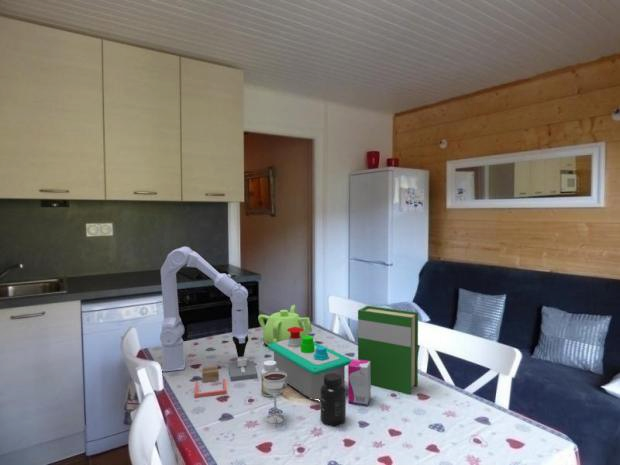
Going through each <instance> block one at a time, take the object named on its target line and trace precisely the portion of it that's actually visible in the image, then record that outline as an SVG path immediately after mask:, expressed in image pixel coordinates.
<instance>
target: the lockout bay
mask: <svg viewBox="0 0 620 465" xmlns="http://www.w3.org/2000/svg"><path fill="white" fill-rule="evenodd" d="M194 384H195V385H194V399H197V398H198V399H199V398H205V397H211V396H220V395H227V394H228V392H227V383H226V378H222V384H223V385H222V386H223V389H222V390H221V389H220V390H219V389H218V390H212V391H204V392H198V390H199V382H198V381H195V383H194Z"/></svg>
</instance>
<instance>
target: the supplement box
mask: <svg viewBox="0 0 620 465" xmlns="http://www.w3.org/2000/svg"><path fill="white" fill-rule="evenodd" d="M351 359H352V361H351V363H350V364H349V365H347V372H348V374H347V377H348V380H347V381H348V382H347V383H348V387H347V388H348V392H347V393H348V396H347V398H348V404H350V405H355V406H356V405H357V406H364V407H368V405H369V403H370V401H371V398H372V395H371V387H372V385H371V374H370V361H365V360H358V359H354V358H351Z"/></svg>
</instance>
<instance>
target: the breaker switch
mask: <svg viewBox="0 0 620 465" xmlns="http://www.w3.org/2000/svg"><path fill="white" fill-rule="evenodd" d="M247 361H248V360H247V358H246V356H244V357H237V361H236V362H237V364H238V367H241V366H247Z"/></svg>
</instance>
